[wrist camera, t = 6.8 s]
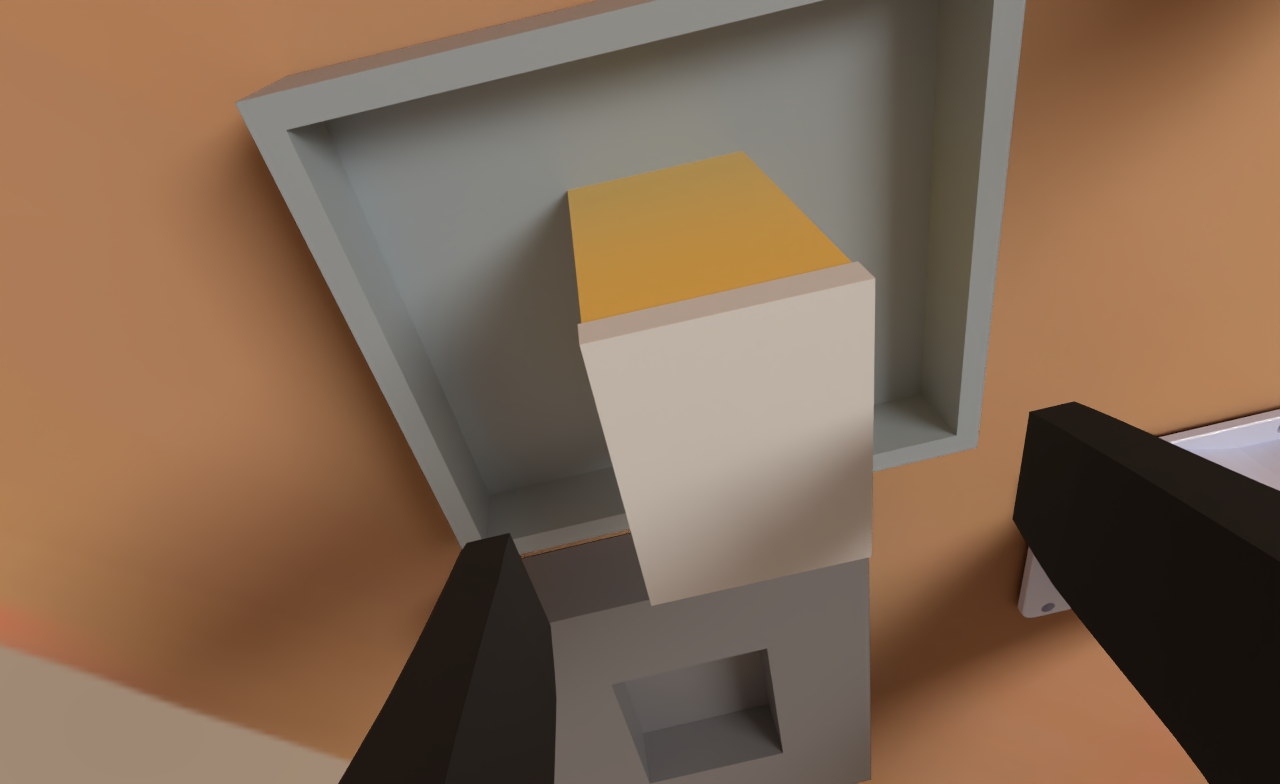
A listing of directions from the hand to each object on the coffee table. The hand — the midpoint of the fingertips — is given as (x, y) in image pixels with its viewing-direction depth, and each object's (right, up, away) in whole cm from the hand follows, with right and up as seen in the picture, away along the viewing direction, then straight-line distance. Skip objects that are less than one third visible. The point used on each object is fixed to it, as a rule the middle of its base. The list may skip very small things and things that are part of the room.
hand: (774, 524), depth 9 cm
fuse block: (0, -8, +17) cm, 19 cm away
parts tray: (-1, +5, +8) cm, 9 cm away
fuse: (-1, +5, +7) cm, 9 cm away
